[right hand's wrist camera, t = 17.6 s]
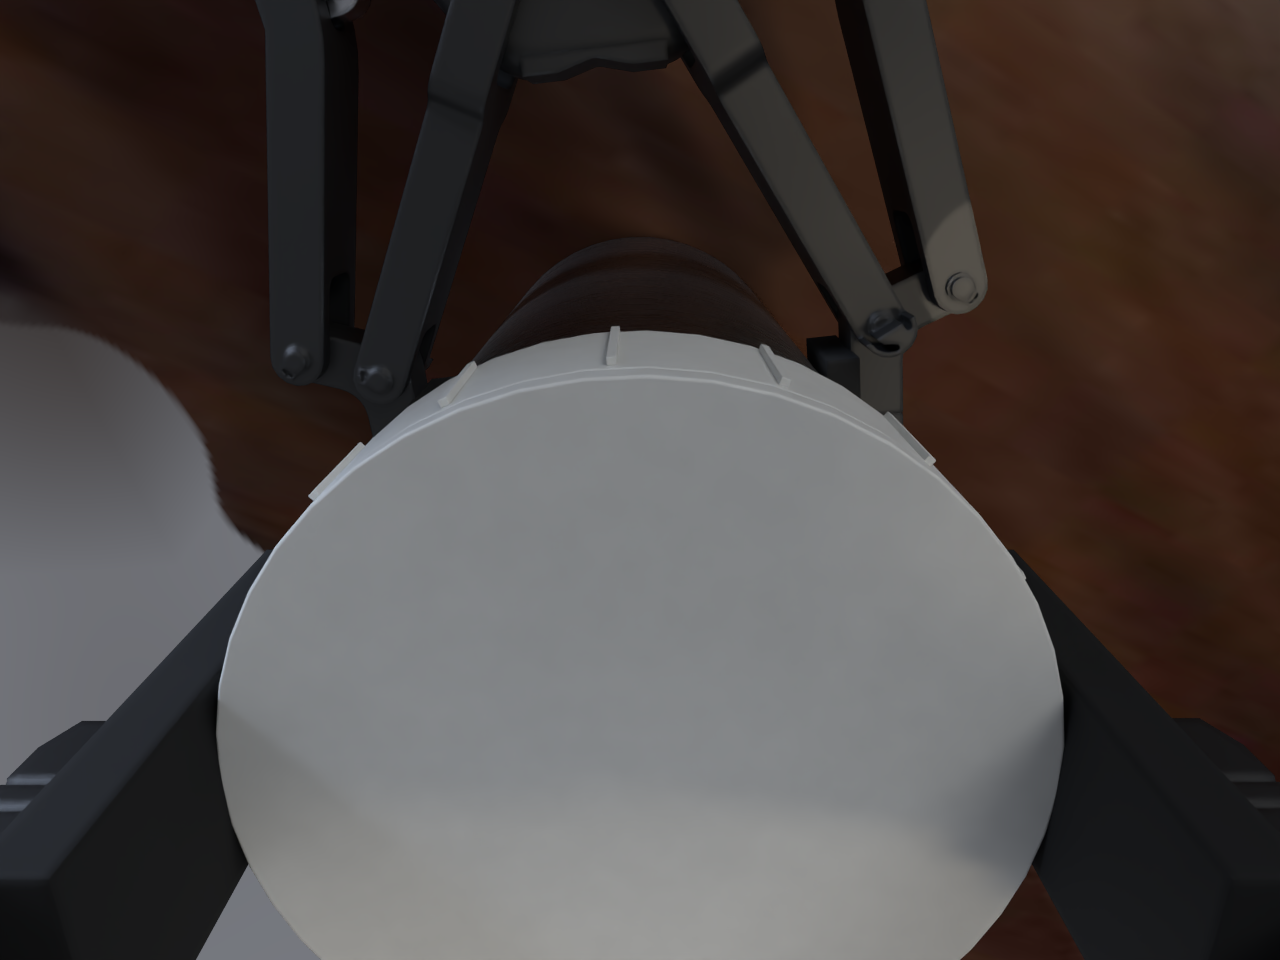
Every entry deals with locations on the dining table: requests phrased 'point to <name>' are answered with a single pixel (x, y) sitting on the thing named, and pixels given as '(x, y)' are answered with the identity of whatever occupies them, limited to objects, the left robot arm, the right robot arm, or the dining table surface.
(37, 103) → the dining table surface
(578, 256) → the jar
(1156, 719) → the right robot arm
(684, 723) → the lid
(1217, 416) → the dining table surface
